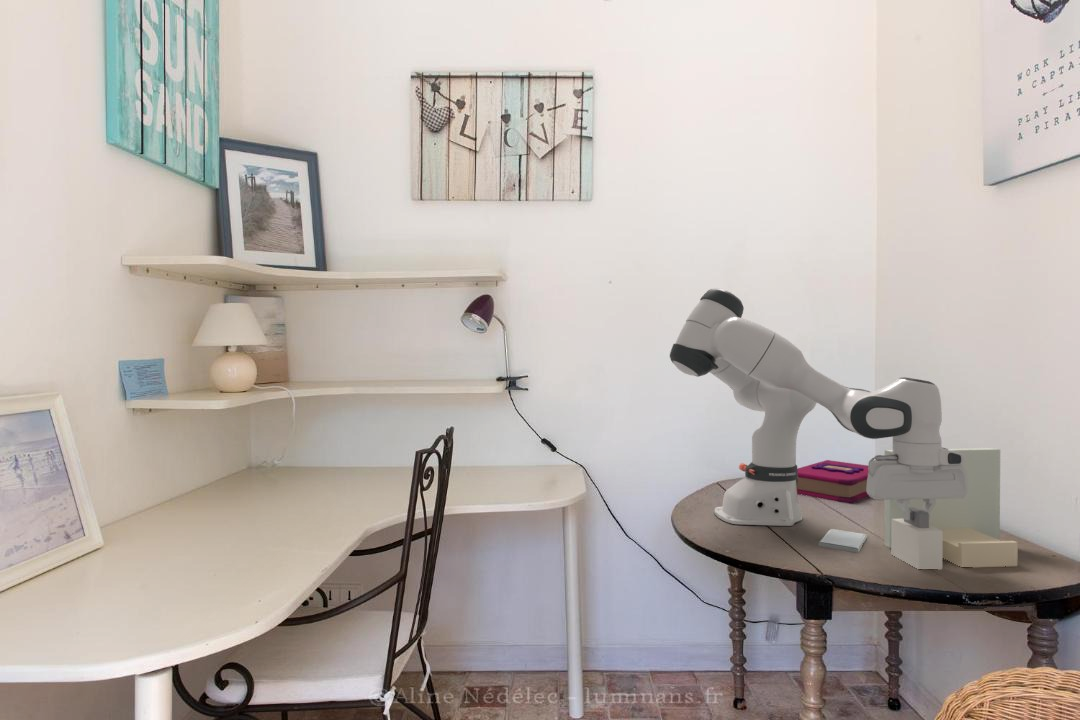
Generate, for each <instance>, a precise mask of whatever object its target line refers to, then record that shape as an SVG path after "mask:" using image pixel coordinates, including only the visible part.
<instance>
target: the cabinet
mask: <svg viewBox="0 0 1080 720" xmlns="http://www.w3.org/2000/svg"><path fill="white" fill-rule="evenodd" d="M908 508H909V510H910V511H913V512H914V520H905V519H892V520H891V548H890V549H891V551H890V554H891V556H892V555H893V556H892V557H894V556H895V557H894V558H896V557H897V558H896V559H898V558H899V559H898V560H900V559H901V560H902V561H901V560H900V561H901V562H903V561H905V562H906V564H907V563H908V564H907V565H909V564H910V565H911V567H912V566H913V568H914V567H915V568H914V569H916V568H917V569H916V570H918V569H938V570H943V558H942V541H943V531H942V530H940V529H937V528H935V527H933V526H930V525H929V514H928V513H926V512H923V511H921V510H918V509H916V508H914V507H908ZM905 562H904V563H905ZM910 565H909V566H910Z"/></svg>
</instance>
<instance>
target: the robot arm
mask: <svg viewBox="0 0 1080 720" xmlns="http://www.w3.org/2000/svg"><path fill="white" fill-rule="evenodd" d="M699 300H700V301H699V302H698V303H697V304H696V306H695V307H694V308H693V310H692V311H691V312H690V314H689V315H688V316H687V318H686V320H685V323H684V325H683V327H682V328H681V330H680V332H679V334H678V337H677V339H676V341H675V343H673V344H672V346H671V350H670V351H669V359H670V360H671V362H672V364H673V365H674V366H675V367H676V368H677V369H678V370H679V371H680V372H682V373H683V374H685V375H689V376H693V377H698V378H699V377H701V376H705V375H707V374H708V373H710V374H712V375H713V376H714V377H716V378H717V379H718V380H720V381H721V382H723V383H724V384H725V385H726V386H728V387H729V388H730V389H731V390H732V391H733V392H732V393H733V397H734V399H735V400H736V402H737V403H738V404H739V405H740V406H743V407H745V408H747V409H749V410H751V411H752V410H753V411H756V412H757V411H758V412H763V413H764V417H763V421H762V423H761V425H760V427H759V428H757V429H756V430H755V431H754V432H753V434H752V436H751V462H750V463H749V464H748V465H747V464H745V463H744V462H741V463H739V465H738V469H739V470H740V471H742V472H745V473H744V474H745V476H744V477H742V478H741V479H740V480H738V481H737V482H736V483H734V484H733V485H732V486H730V487H729V488H727V489H726V491H725V492H724V494H723V498H722V506H716V507H715V508H714V512H713V513H714V515H715V516H716V517H717V518H719V519H720V520H722V521H723V522H726V523H729V524H731V525H747V526H748V525H749V526H750V525H751V526H753V525H754V526H779V527H780V526H781V527H785V526H787V527H790V526H791V527H792V526H794V525H795V523H798V522H800V521H802V520H803V514H802V511H801V508H800V504H799V503H800V502H799V498H798V494H797V486H796V485H797V482H798V470H797V469H798V465H797V464H796V462H797V461H796V459H797V458H796V457H797V456H796V455H797V439H798V438H797V437H798V433H799V429H800V427H801V424H802V422H803V420H804V419H805V417H806V416H807V415H808V414H809V413H810V412H811V411H813V410H814V409H815V407H816V405H817V404H818V405H820V406H822V407H824V408H825V409H827V410H828V411H829V412H830V413H831V414H832V415H833V416H834V418H835V419H836V421H837V422H838V423H839V424H840V425H841V427H843V428H844V429H846V430H847V431H849V432H852V433H854V434H855V433H856V435H859V436H861V437H863V438H866V439H870V440H871V439H872V440H877V439H886V438H892V450H893V455H885V454H884V455H881V454H877V455H875V456H874V457H872V458H870V460H869V461H868V464H867V465H868V471H869V472H868V478H867V487H866V492H867V494H868V495H869V496H868V497H870V498H872V499H874V500H877V501H884V500H897V503H898V504H899V506H900V508H901V509H902V517H903V519H905V520H914V512H913V511H910V510H909V508H908V506H907V504H910V499H923V501H924V502H925V503H924V505H923V507H922V510H921V511H923V512H926V513H928V514H929V519H930V512H931V510H932V509H933V507H934V506H935V504H936V499H948V498H964V497H965V496H966V494H967V492H968V477H967V471H966V469H965V467H964V466H963V464H965V462H966V457H965V455H963V454H960V453H957V452H954V451H950V450H948V449H949V448H946V447H942V443H943V442H942V437H941V434H940V427H941V425H942V419H943V418H942V413H943V412H942V399H941V393H940V390H939V389H940V388H939V387H938V386H937V385H936V384H935V383H934V382H931V381H930V380H922V379H918V378H917V379H916V378H913V377H912V378H911V377H905V376H904V377H903V376H902V377H898V378H896V380H895V381H892V382H891V383H889V384H887V385H885V386H883V387H880V388H879V389H875V390H873V391H869V390H866V389H862V388H852V387H847V386H845V385H843V384H841V383H839V382H837V381H835V380H833V379H831V378H830V377H828V376H827V375H825V374H823V373H822V372H819V371H818V370H817V369H815V368H813V367H812V366H811V365H810V364H809V363H808V361H807V360H806V358H805V357H804V354H803V352H802V350H801V349H799V348H798V347H797V346H796V345H795V344H793V343H792V342H790V341H789V340H788V339H787V338H785V337H783V336H782V335H781V334H778V333H777V332H775V331H773V330H772V329H770V328H767V327H765V326H763V325H761V324H758V323H757V322H753V321H751V320H748V319H745V318H743V317H742V316H743V313H744V308H745V307H744V305H743V302H742V301H741V299H740V298H739V297H737V296H736V295H735V294H734V293H732V292H730V291H728V290H726V289H723V288H718V287H716V288H715V287H714V288H710V289H708V290H707V291H706V292H705V293H704V294H703V295H702V296H701V297H700V299H699Z"/></svg>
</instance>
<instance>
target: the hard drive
mask: <svg viewBox="0 0 1080 720" xmlns="http://www.w3.org/2000/svg"><path fill="white" fill-rule="evenodd" d="M866 540H867V534H865V533H860V532H853V531H847V530H840V529H833V528H830V529H829V530H828V531H827V532H826V533H825V535H823V537H822V538H821V540H819V542H818V546H819V547H822V548H827V549H828V548H829V549H834V550H840V551H846V552H852V553H855V554H856V553H857V554H859V553H860V551H861V549H862V547H863V546H862V545H864V544H865V542H866ZM863 543H864V544H863Z"/></svg>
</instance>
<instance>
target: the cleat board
mask: <svg viewBox="0 0 1080 720" xmlns="http://www.w3.org/2000/svg"><path fill="white" fill-rule="evenodd" d="M947 449H948V450H950V451H954V452H957V453H960V454H963V455H965V457H966V462H965V464H963V466H964V467H965V469H966V471H967V477H968V492H967V494H966V496H965V497H964V498H948V499H936V504H935V506H934V507H933V509H932V510H931V512H930V519H929V525H930V526H933V527H935V528H937V529H940V530H942V531H943V541H942V559H943V558H944V559H943V560H945V559H946V560H945V561H947V560H948V561H947V562H949V561H950V562H949V563H951V562H952V563H951V564H953V563H954V564H953V565H955V564H956V565H955V566H957V565H958V566H957V567H959V566H960V567H959V568H961V567H973V568H1000V567H1001V568H1003V567H1005V566H1006V567H1007V568H1008V567H1018V551H1019V550H1018V549H1019V548H1018V541H1016V540H1001V539H1000V536H1001V535H1000V534H1001V533H1000V531H1001V530H1000V529H1001V524H1000V523H1001V521H1000V518H1001V449H1000V448H995V447H976V448H975V447H974V448H973V447H972V448H969V447H968V448H967V447H965V448H947ZM884 455H893V449H884ZM883 501H884V504H883V505H884V506H883V507H884V509H883V511H884V516H883V518H884V519H883V521H884V523H883V526H884V527H883V528H884V530H883V532H884V534H883V535H884V536H883V537H884V539H883V542H884V543H883V546H885V545H886V546H885V547H887V548H890V549H891V520H892V519H903V517H902V509H901V508H900V506H899V504H898V503H897V500H883ZM924 503H925V502H924V501H923V499H910V504H907V506H908V507H914V508H916V509H918V510H922V507H923V505H924Z"/></svg>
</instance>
